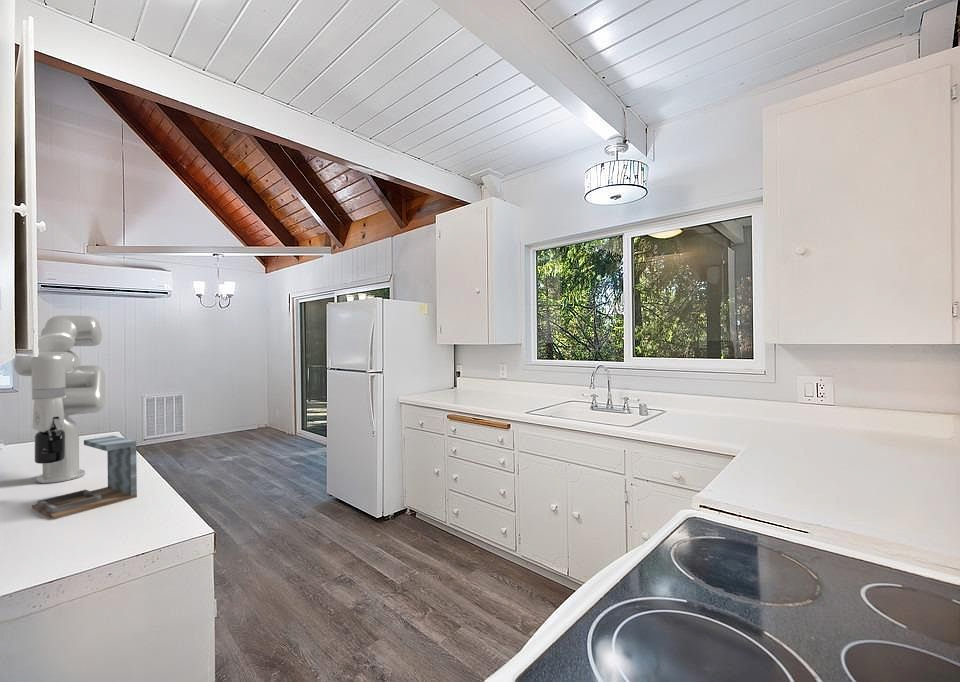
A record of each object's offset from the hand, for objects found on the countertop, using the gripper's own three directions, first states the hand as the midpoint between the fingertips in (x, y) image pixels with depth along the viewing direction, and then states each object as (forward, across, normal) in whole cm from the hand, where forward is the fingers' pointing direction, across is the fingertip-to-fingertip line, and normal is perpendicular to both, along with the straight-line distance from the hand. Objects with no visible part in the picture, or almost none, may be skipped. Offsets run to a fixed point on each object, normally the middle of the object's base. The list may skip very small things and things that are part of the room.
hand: (50, 450), depth 138 cm
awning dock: (+14, +16, +3) cm, 22 cm away
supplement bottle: (+4, 0, 0) cm, 4 cm away
